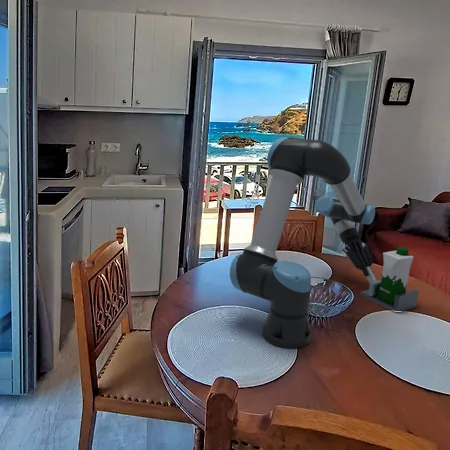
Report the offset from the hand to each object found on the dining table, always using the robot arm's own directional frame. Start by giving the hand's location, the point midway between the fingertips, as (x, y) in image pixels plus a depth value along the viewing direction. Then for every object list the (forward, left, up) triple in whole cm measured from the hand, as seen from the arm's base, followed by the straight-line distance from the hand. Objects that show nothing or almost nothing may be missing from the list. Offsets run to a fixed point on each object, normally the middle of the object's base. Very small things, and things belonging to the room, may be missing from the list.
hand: (373, 282), depth 173 cm
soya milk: (-8, -3, -3) cm, 10 cm away
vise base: (-7, -2, -5) cm, 9 cm away
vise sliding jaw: (-3, -1, -3) cm, 5 cm away
